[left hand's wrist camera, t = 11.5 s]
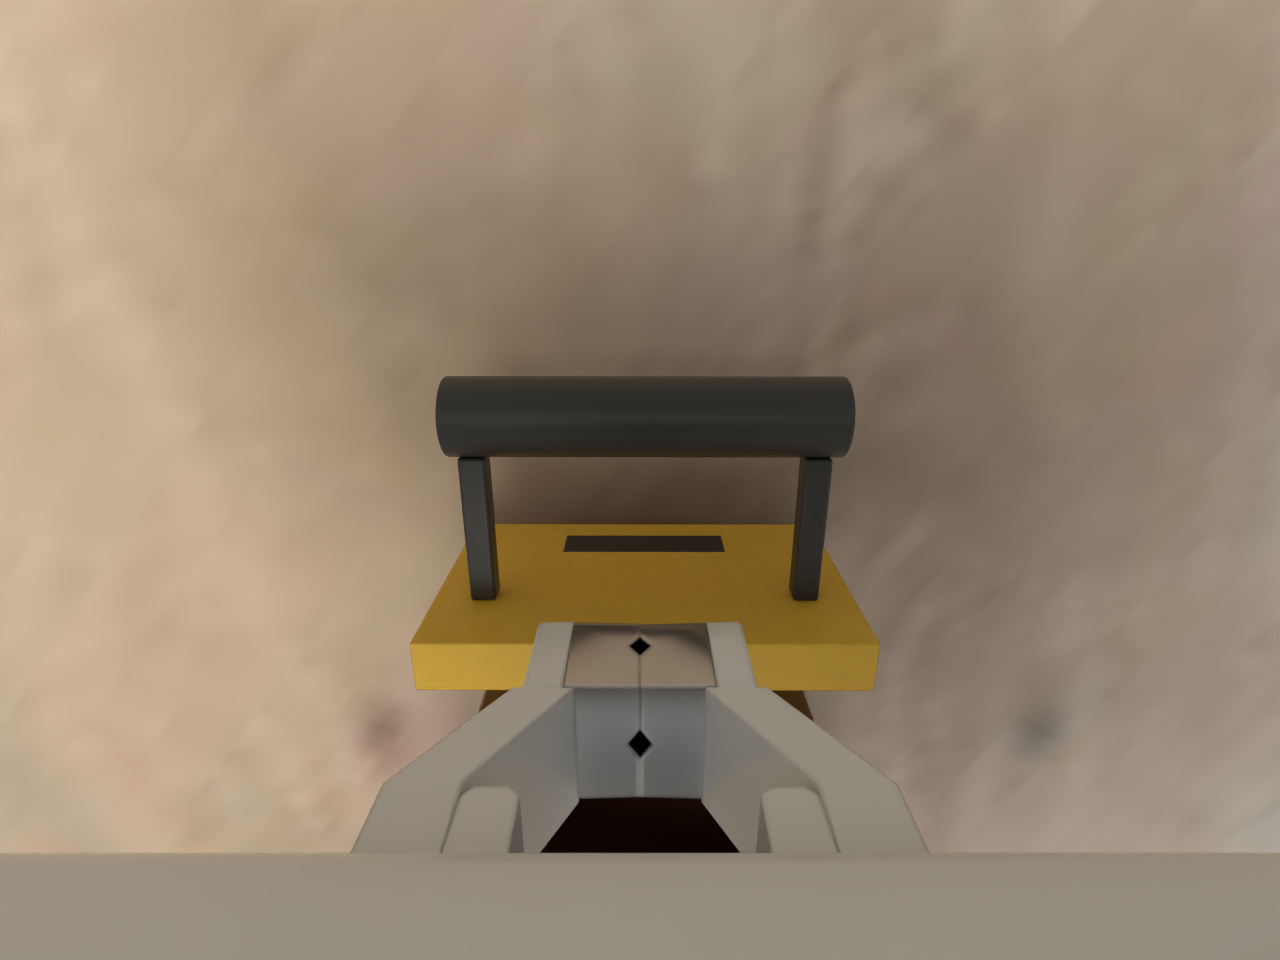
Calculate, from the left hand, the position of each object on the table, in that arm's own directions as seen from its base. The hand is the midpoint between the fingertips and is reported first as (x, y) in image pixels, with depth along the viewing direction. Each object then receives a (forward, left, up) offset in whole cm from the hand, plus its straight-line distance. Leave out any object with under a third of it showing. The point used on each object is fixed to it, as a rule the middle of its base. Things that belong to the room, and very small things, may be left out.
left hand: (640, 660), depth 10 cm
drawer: (+7, +3, -10) cm, 13 cm away
